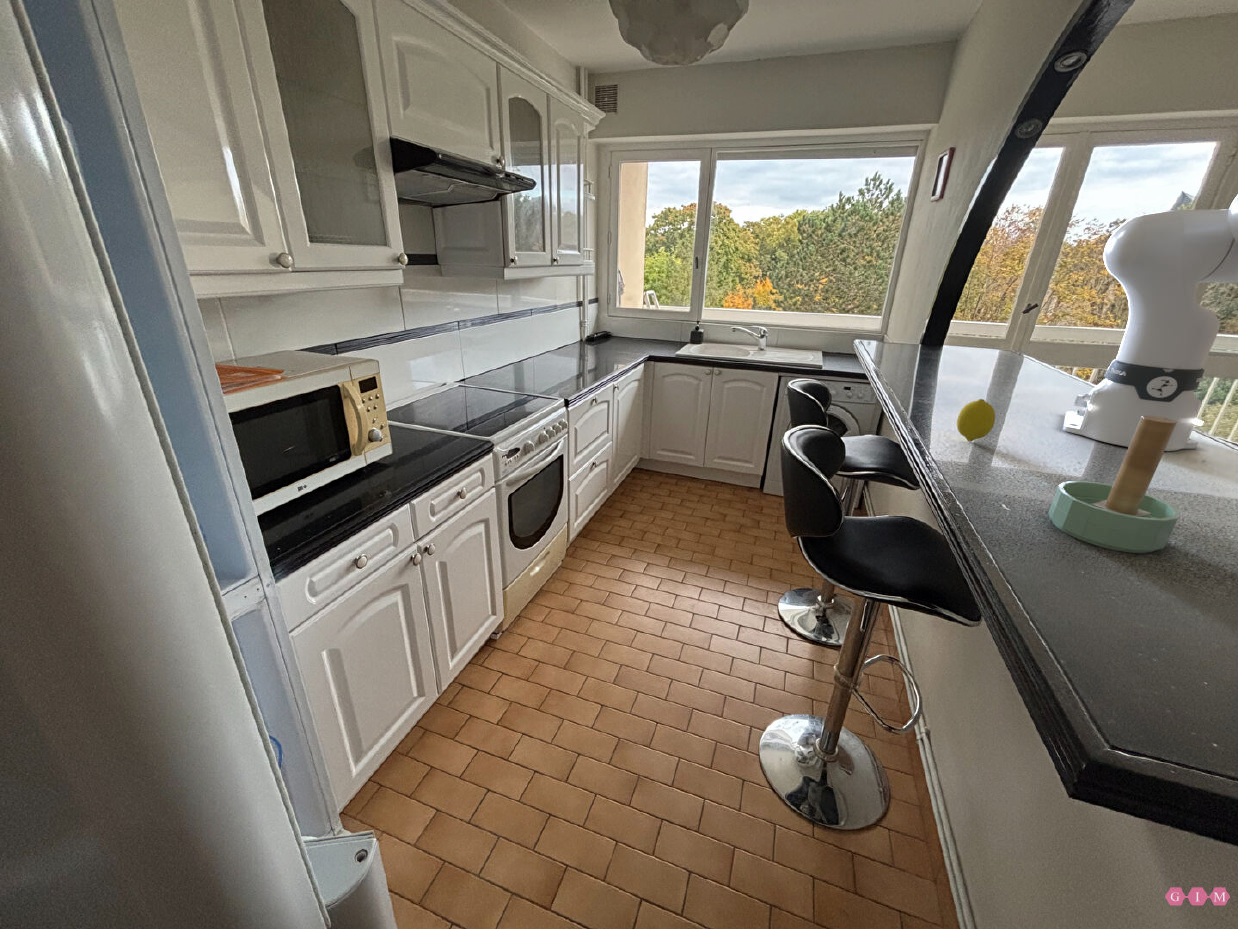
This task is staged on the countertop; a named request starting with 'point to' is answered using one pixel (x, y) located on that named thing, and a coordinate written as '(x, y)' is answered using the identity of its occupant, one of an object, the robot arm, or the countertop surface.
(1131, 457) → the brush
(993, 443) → the countertop surface
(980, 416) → the lemon
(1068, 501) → the bowl
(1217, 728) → the countertop surface
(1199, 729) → the countertop surface
